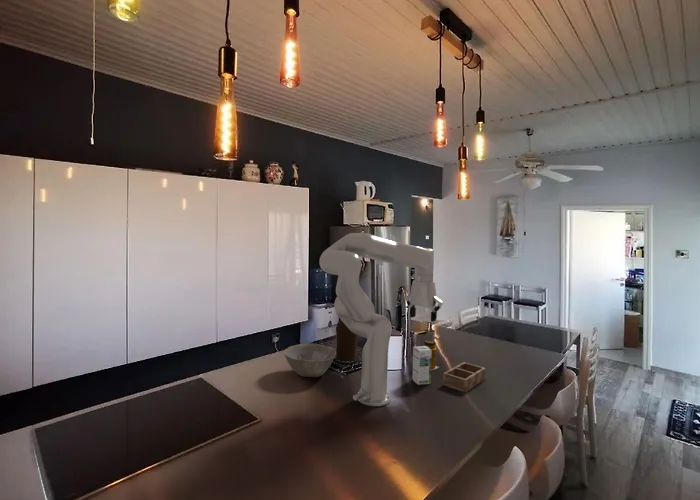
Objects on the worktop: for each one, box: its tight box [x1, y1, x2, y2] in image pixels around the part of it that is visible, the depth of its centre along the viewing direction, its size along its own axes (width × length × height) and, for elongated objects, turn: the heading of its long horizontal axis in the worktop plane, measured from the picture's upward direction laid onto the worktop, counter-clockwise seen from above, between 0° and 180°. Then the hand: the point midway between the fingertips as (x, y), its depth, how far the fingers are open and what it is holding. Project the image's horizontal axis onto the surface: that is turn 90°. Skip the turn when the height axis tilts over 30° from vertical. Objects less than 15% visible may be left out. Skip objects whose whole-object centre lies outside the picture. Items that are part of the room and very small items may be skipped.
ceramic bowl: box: [283, 343, 336, 378], centre depth 162 cm, size 22×23×10 cm
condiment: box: [423, 339, 440, 371], centre depth 175 cm, size 7×8×12 cm
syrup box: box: [412, 345, 432, 386], centre depth 158 cm, size 6×6×14 cm
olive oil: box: [335, 319, 359, 361], centre depth 180 cm, size 11×11×25 cm
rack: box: [442, 361, 487, 393], centre depth 159 cm, size 19×10×5 cm, turn 138°
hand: (422, 319), depth 157 cm, fingers open, 9 cm apart
